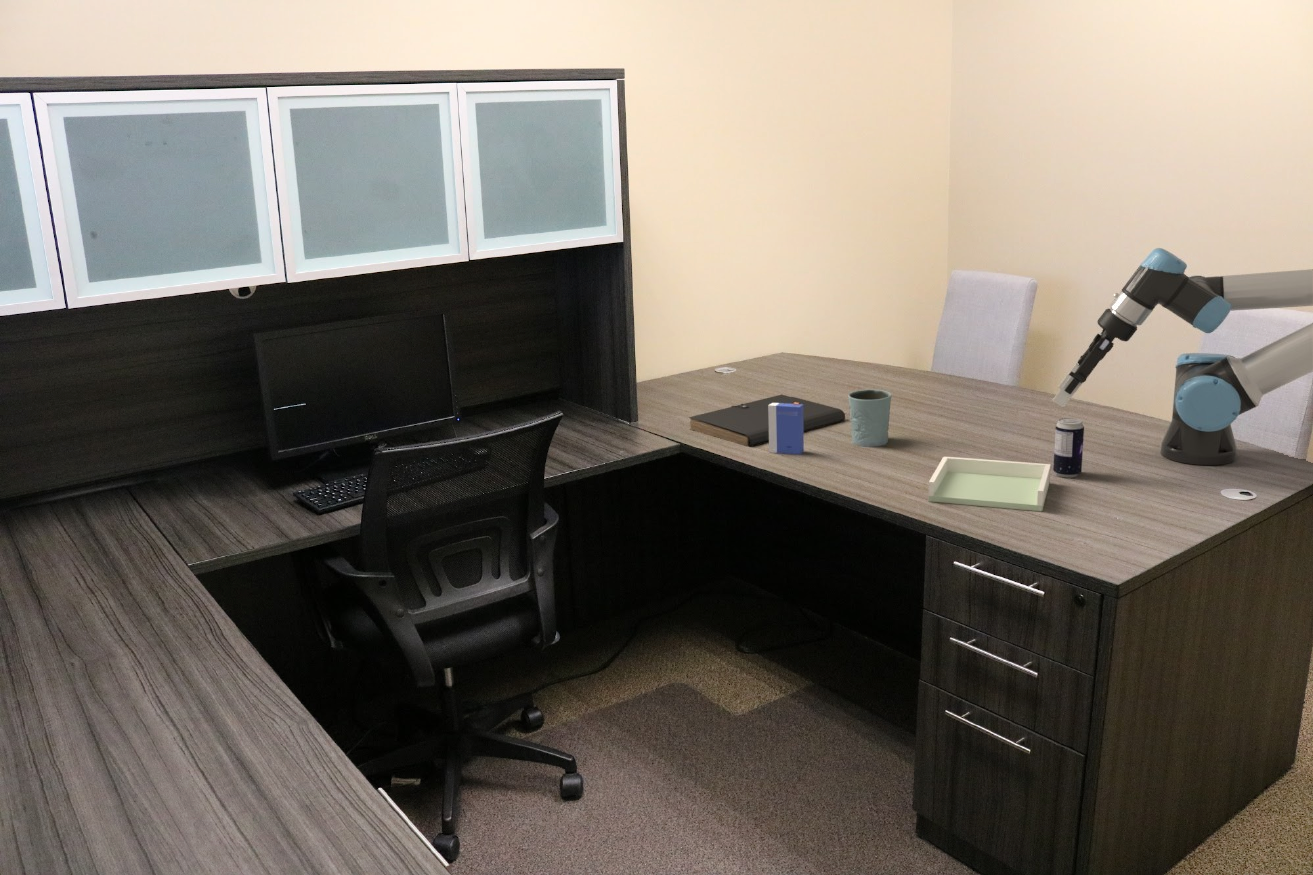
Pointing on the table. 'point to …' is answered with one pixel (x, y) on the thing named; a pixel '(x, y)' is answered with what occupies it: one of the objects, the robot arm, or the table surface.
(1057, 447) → the beverage can
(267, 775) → the table surface
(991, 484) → the box
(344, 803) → the table surface
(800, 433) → the walkman
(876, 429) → the embossed teal cup
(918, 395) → the table surface
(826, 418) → the leather journal
